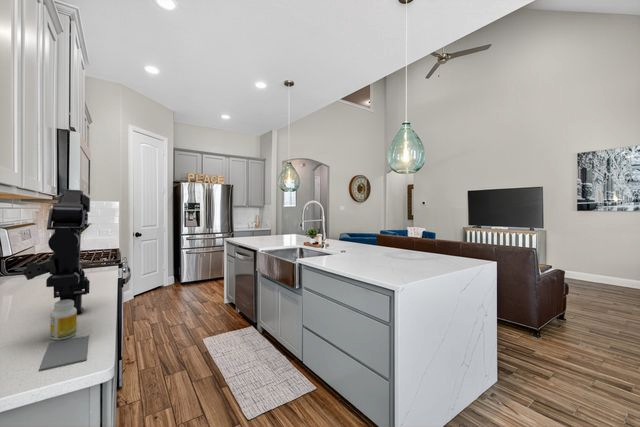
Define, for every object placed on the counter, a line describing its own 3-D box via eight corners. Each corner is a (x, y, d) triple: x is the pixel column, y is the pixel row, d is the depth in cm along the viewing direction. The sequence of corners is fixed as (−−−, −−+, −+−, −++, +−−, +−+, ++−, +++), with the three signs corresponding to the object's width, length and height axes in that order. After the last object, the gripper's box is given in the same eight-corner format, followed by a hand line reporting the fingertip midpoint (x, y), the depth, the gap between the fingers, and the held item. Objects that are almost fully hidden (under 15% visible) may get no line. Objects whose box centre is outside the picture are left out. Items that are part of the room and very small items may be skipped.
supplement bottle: (44, 340, 76) (44, 306, 75) (60, 329, 81) (61, 297, 80) (66, 341, 77) (67, 307, 75) (81, 330, 82) (81, 299, 81)
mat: (49, 344, 74) (49, 342, 74) (88, 336, 79) (88, 335, 79) (38, 371, 62) (38, 369, 62) (86, 360, 67) (86, 358, 67)
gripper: (32, 248, 83) (30, 302, 83) (18, 255, 68) (15, 321, 68) (82, 246, 90) (81, 296, 89) (79, 252, 75) (77, 312, 75)
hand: (65, 305), depth 80 cm, fingers closed
